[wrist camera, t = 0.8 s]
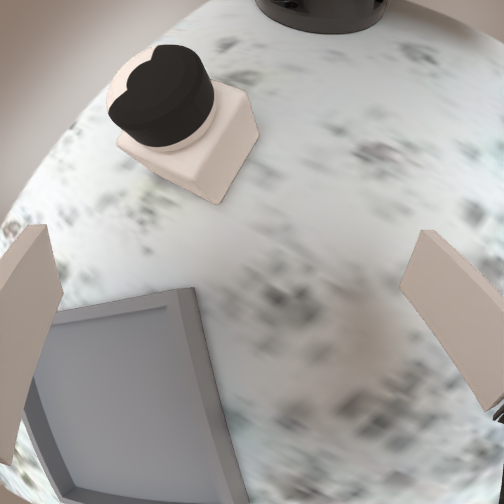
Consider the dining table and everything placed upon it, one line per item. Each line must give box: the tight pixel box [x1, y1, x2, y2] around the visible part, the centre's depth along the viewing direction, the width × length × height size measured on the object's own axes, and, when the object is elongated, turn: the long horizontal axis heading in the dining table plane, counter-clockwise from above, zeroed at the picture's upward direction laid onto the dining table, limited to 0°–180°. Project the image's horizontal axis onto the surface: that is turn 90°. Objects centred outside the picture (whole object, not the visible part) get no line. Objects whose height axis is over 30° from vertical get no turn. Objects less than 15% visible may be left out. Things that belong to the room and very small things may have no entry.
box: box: [22, 288, 250, 504], centre depth 24 cm, size 22×22×4 cm
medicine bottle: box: [106, 45, 259, 204], centre depth 20 cm, size 7×7×12 cm
